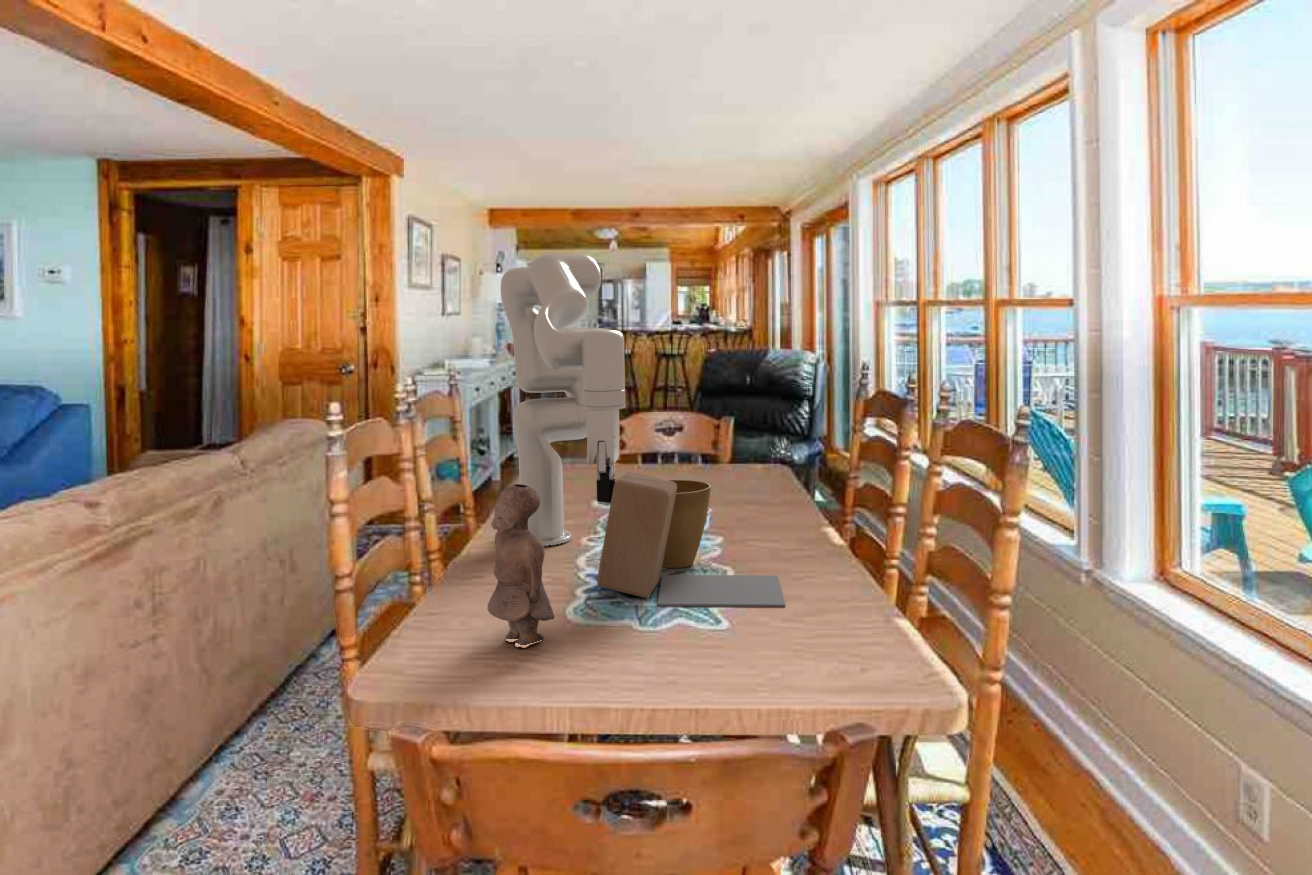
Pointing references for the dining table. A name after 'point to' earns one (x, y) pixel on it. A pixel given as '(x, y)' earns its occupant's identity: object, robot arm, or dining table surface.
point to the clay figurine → (519, 566)
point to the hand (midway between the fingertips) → (606, 500)
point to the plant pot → (686, 523)
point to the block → (636, 534)
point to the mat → (721, 591)
